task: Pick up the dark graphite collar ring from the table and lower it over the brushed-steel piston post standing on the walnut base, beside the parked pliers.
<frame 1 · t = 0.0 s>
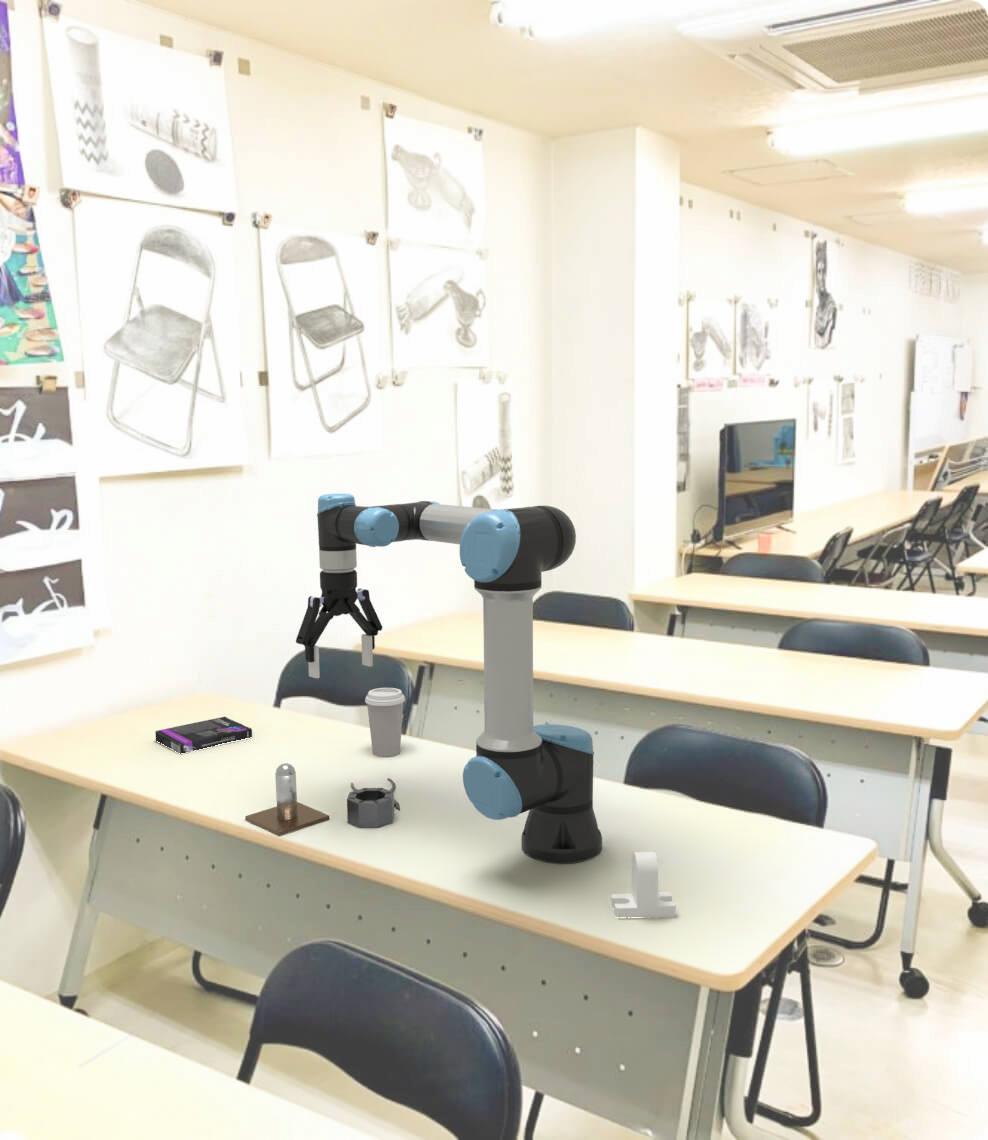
hand: (341, 671, 230), 28 cm above the table, fingers open, 13 cm apart
ring: (371, 819, 223), on the table
pliers: (386, 796, 238), on the table
box: (204, 742, 277), on the table
white bearing bracket: (643, 912, 183), on the table
coffee cup: (386, 753, 266), on the table
piston post: (287, 819, 224), on the table
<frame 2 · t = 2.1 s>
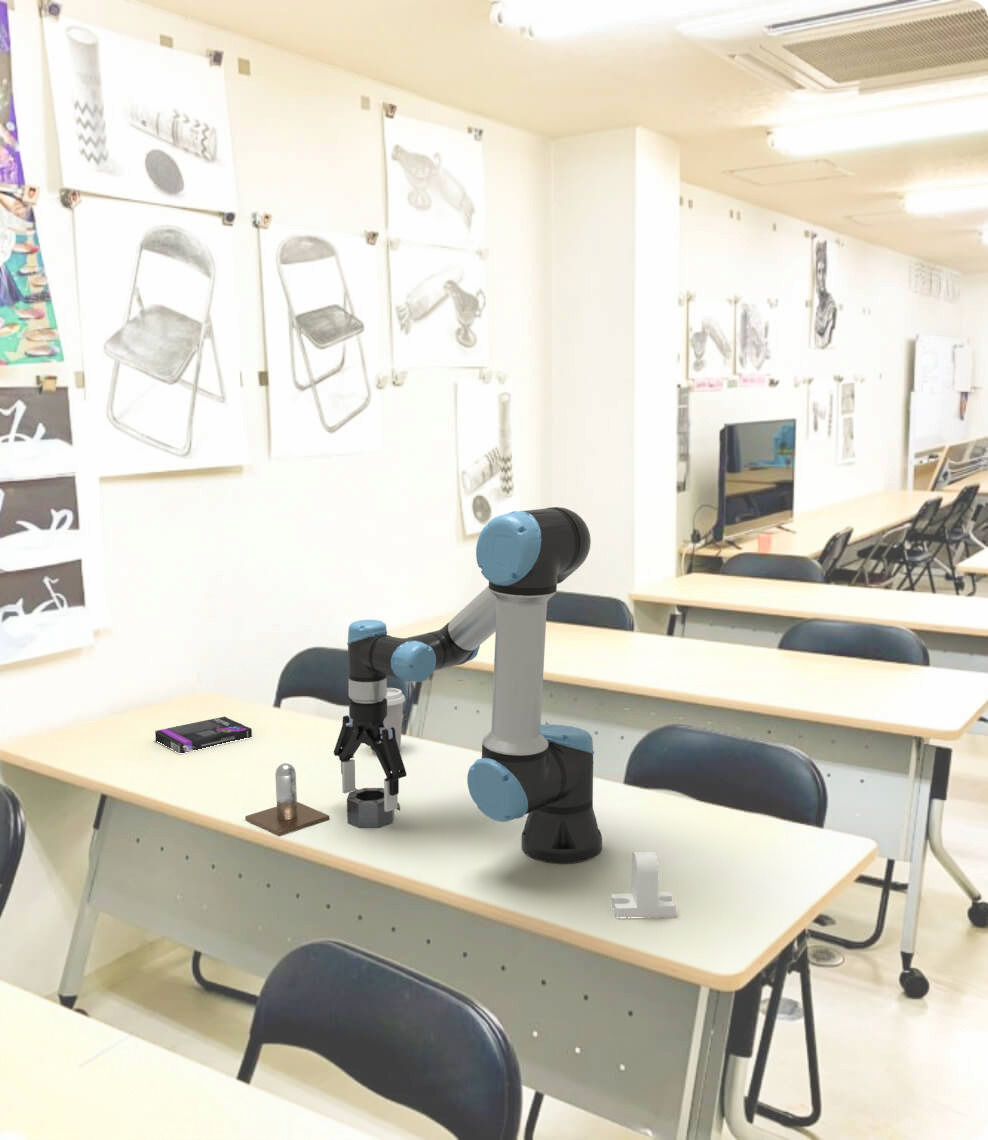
hand: (369, 800, 223), 4 cm above the table, fingers open, 13 cm apart
nothing on the table moved.
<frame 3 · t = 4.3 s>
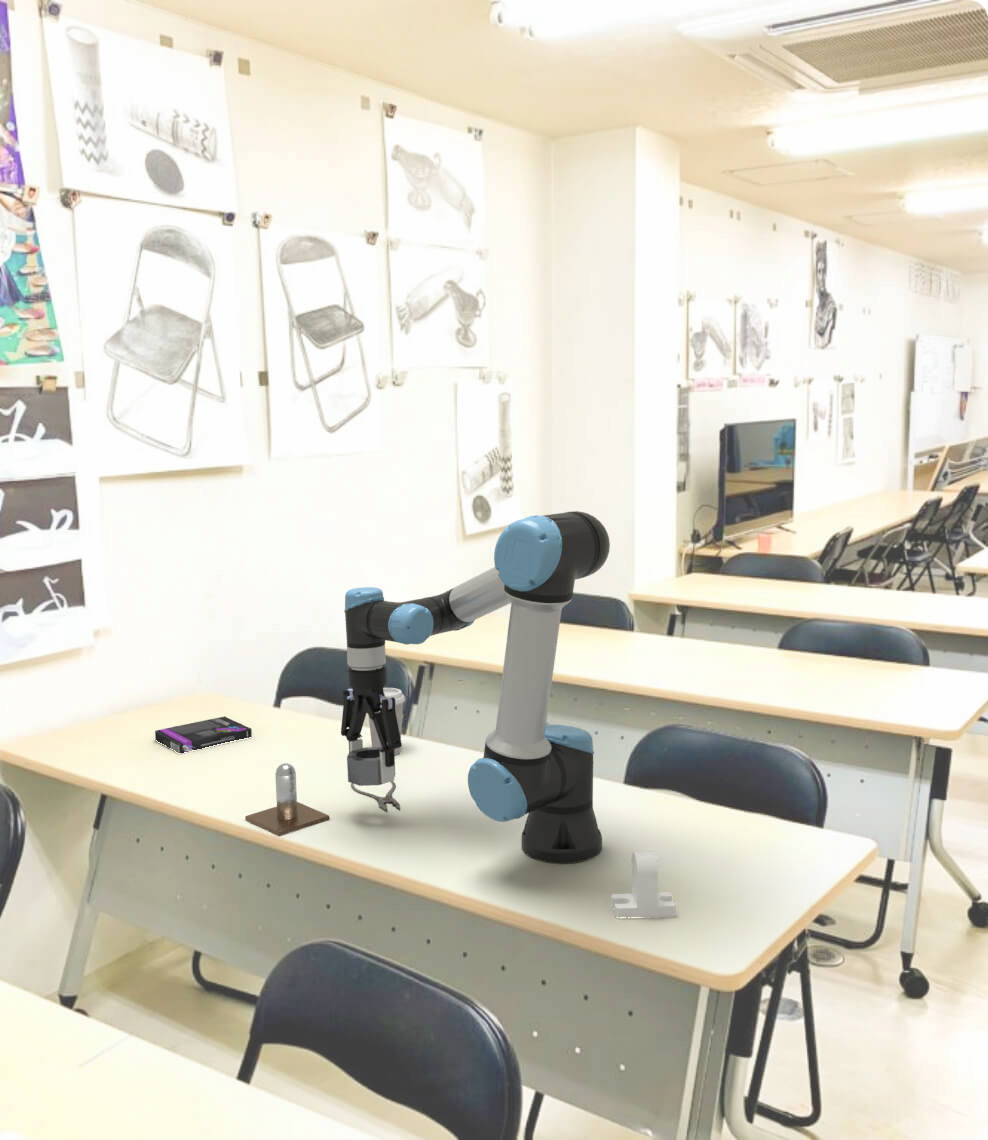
hand: (372, 776, 222), 9 cm above the table, fingers closed on ring, 9 cm apart
ring: (371, 778, 222), point 9 cm above the table, touching gripper
everything else where it was.
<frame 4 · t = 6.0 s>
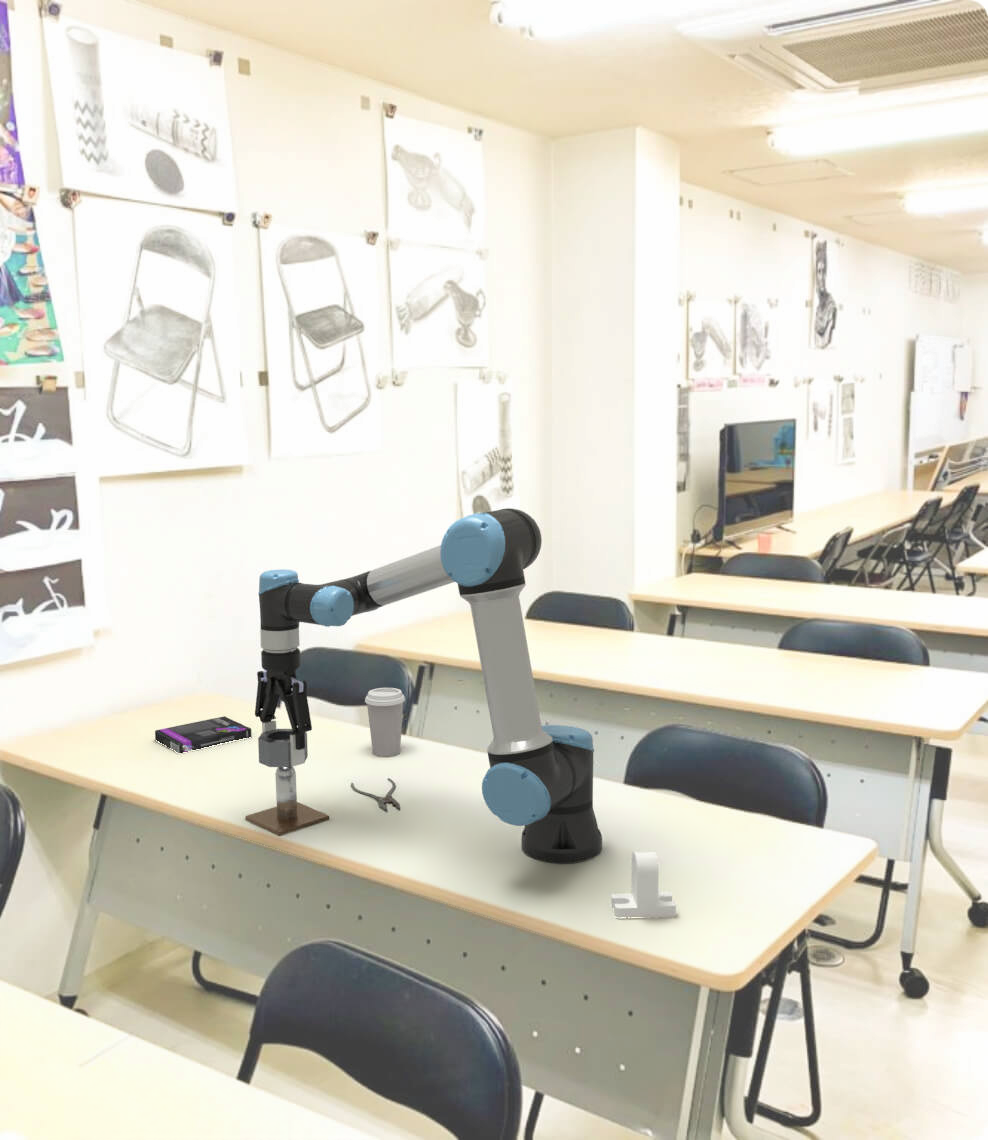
hand: (283, 758, 222), 13 cm above the table, fingers closed on ring, 9 cm apart
ring: (283, 759, 222), point 13 cm above the table, touching gripper
everything else where it was.
when the fingers open (3 cm above the table, at t = 8.1 s): ring drops 2 cm, resting on piston post.
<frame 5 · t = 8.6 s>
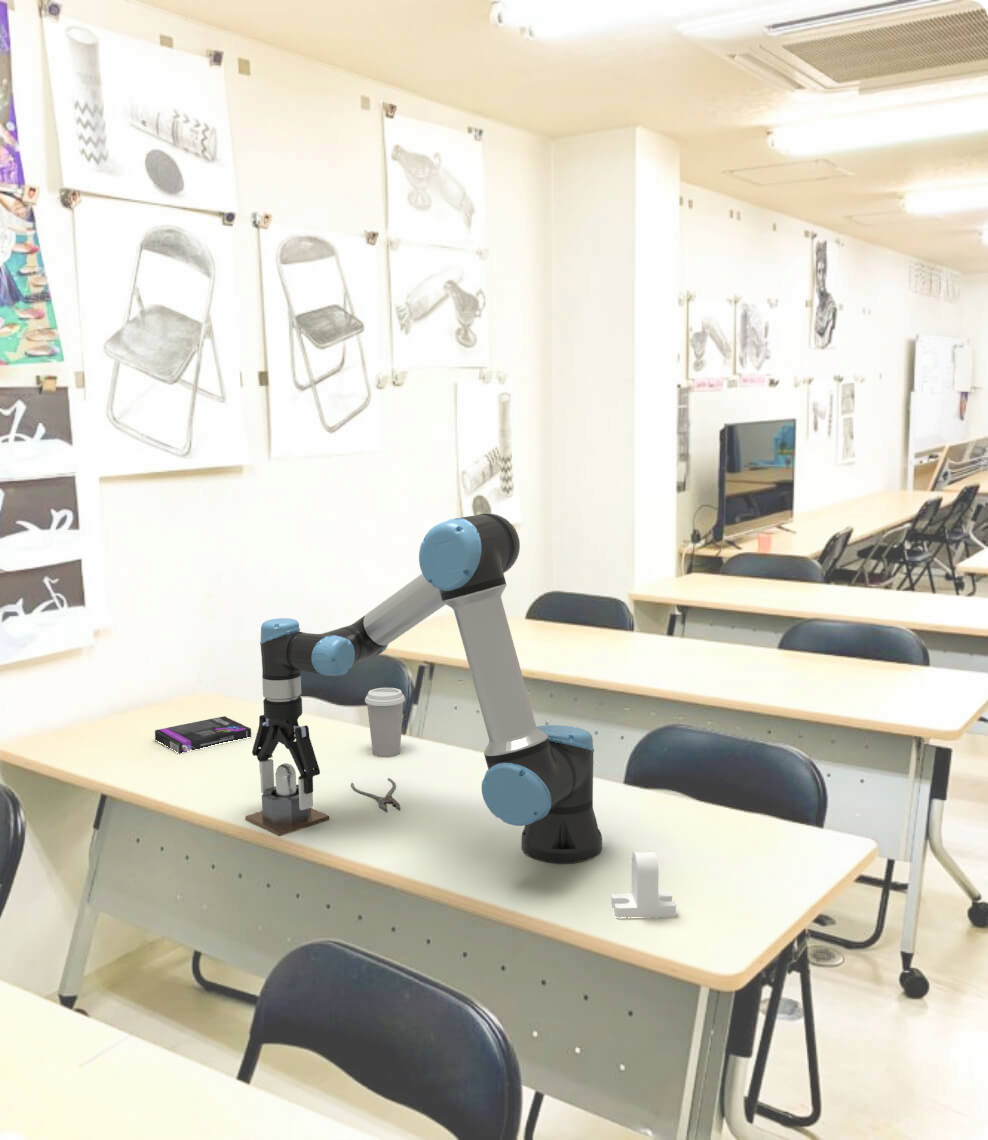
hand: (286, 799, 223), 4 cm above the table, fingers open, 13 cm apart
ring: (287, 816, 223), point 1 cm above the table, touching piston post
everything else where it was.
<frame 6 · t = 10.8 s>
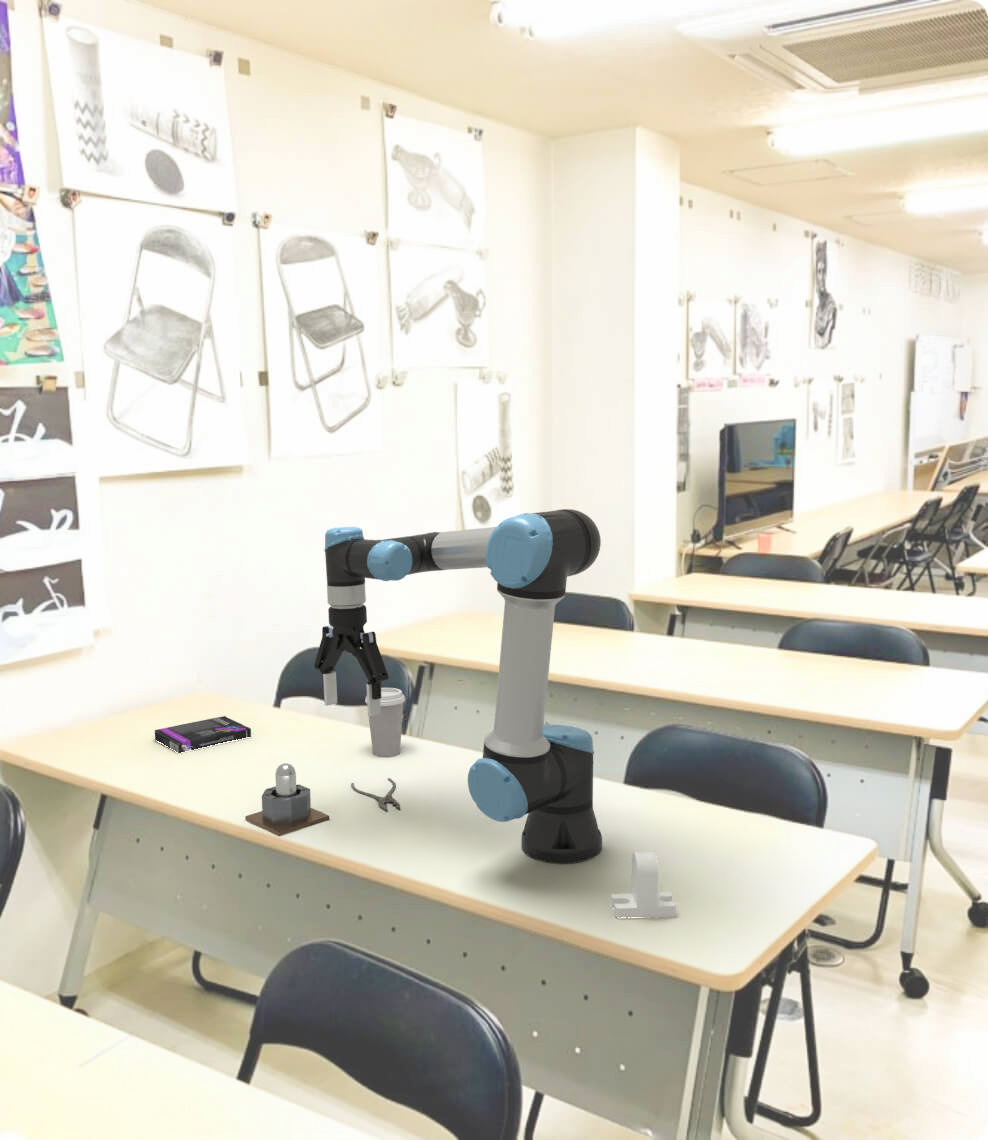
hand: (352, 709, 223), 22 cm above the table, fingers open, 13 cm apart
nothing on the table moved.
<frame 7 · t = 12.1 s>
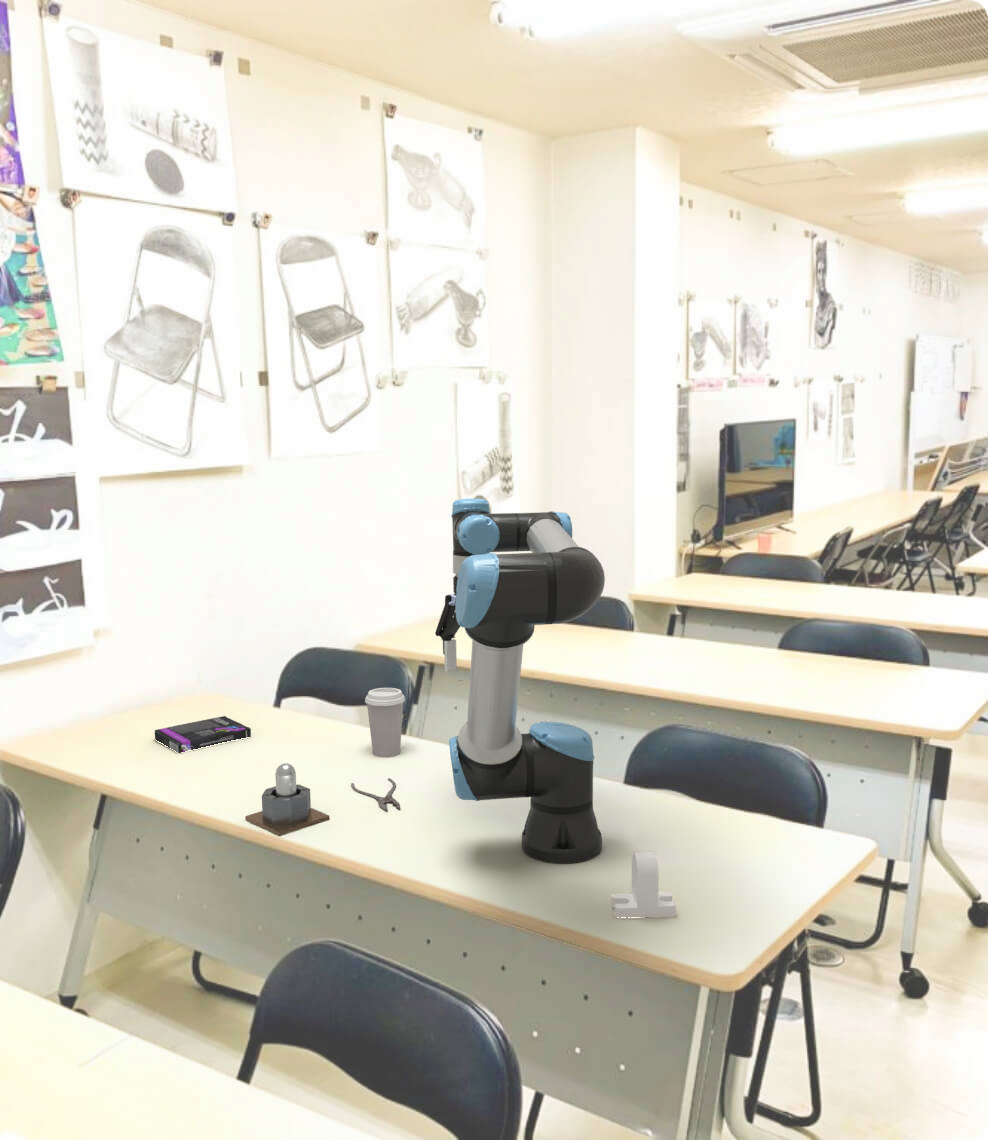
hand: (472, 676, 230), 27 cm above the table, fingers open, 13 cm apart
nothing on the table moved.
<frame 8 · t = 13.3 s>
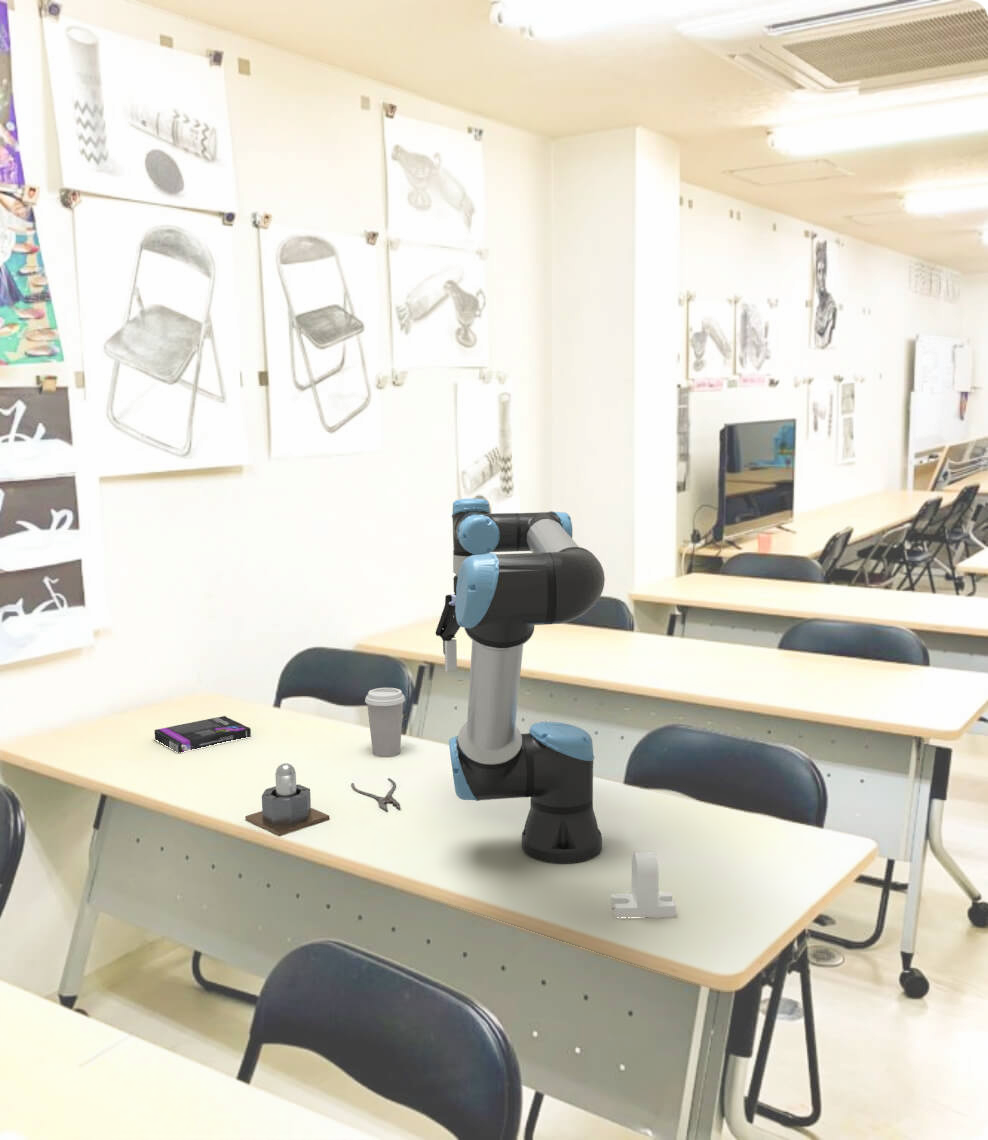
hand: (473, 676, 230), 27 cm above the table, fingers open, 13 cm apart
nothing on the table moved.
at the end: ring 0.1 cm off-centre on the piston post, point 0.8 cm above the piston post's base; the gripper is holding nothing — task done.
